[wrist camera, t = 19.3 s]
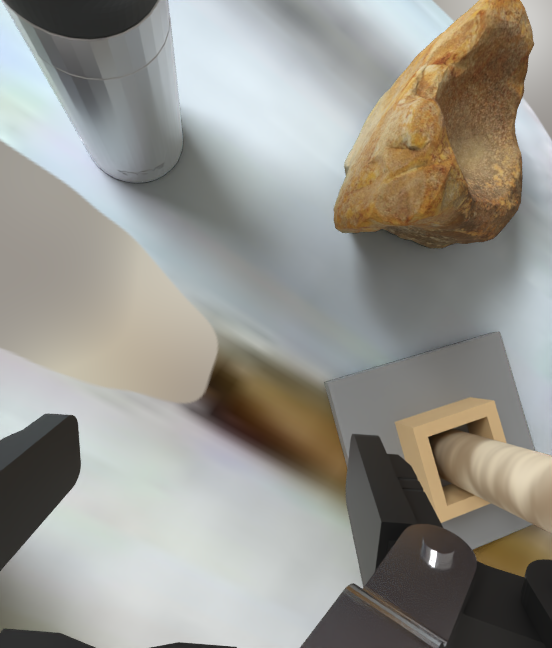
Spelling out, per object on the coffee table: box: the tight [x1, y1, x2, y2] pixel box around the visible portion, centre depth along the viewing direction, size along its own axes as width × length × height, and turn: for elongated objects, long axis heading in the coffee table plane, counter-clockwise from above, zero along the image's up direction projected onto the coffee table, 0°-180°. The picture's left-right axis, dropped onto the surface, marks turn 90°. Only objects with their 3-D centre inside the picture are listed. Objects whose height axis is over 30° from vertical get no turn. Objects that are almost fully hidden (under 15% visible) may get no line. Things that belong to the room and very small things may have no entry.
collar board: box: [324, 332, 535, 550], centre depth 38 cm, size 20×20×5 cm
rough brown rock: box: [334, 0, 534, 248], centre depth 36 cm, size 23×17×15 cm
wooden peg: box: [428, 428, 552, 533], centre depth 33 cm, size 5×5×14 cm
